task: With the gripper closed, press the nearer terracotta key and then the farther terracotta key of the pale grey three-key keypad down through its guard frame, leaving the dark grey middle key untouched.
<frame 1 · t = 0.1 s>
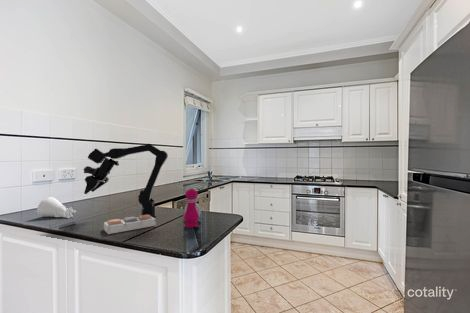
hand: (88, 192, 131), 15 cm above the countertop, tool tilted 35°, fingers open, 9 cm apart
middle key: (130, 220, 116), point 4 cm above the countertop, slide at 0.0 cm
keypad: (130, 227, 116), on the countertop
pepper mill: (191, 226, 118), on the countertop
rocket engine: (56, 218, 137), on the countertop
key 1: (114, 222, 112), point 4 cm above the countertop, slide at 0.0 cm
key 2: (145, 217, 121), point 4 cm above the countertop, slide at 0.0 cm
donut: (192, 220, 130), on the countertop
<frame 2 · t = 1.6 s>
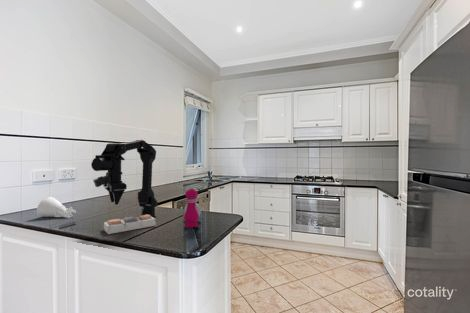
hand: (114, 203, 112), 13 cm above the countertop, tool pointing down, fingers open, 8 cm apart
nothing on the countertop moved.
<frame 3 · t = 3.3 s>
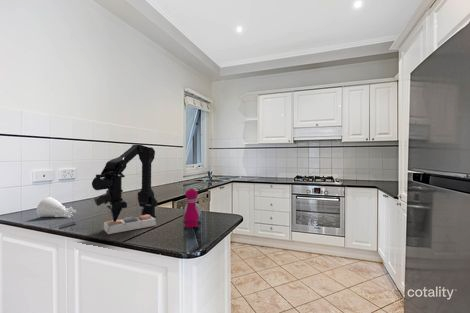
hand: (114, 221, 112), 4 cm above the countertop, tool pointing down, fingers closed, pressing on key 1
key 1: (114, 223, 112), point 3 cm above the countertop, slide at 0.3 cm, touching gripper
everything else where it was.
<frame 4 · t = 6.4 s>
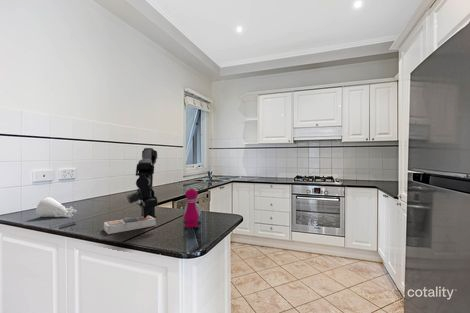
hand: (145, 217, 121), 4 cm above the countertop, tool pointing down, fingers closed, pressing on key 2
key 1: (114, 224, 112), point 2 cm above the countertop, slide at 1.2 cm
key 2: (145, 219, 121), point 3 cm above the countertop, slide at 0.9 cm, touching gripper
everything else where it was.
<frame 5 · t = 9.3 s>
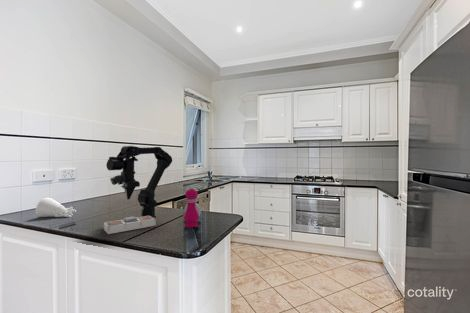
hand: (128, 199, 126), 12 cm above the countertop, tool pointing down, fingers closed
key 2: (145, 220, 121), point 2 cm above the countertop, slide at 1.2 cm
at the end: key 1 slide at 1.2 cm; key 2 slide at 1.2 cm; middle key slide at 0.0 cm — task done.
